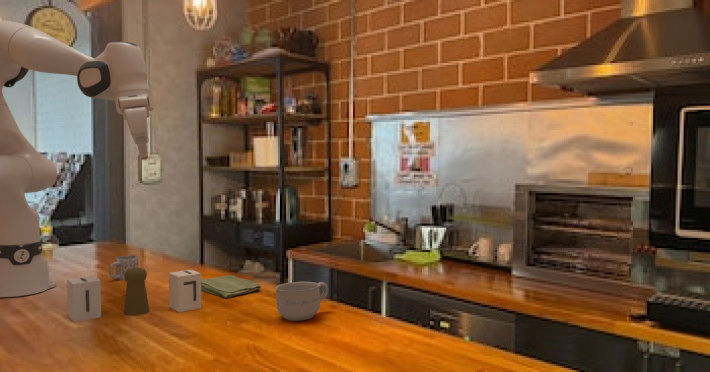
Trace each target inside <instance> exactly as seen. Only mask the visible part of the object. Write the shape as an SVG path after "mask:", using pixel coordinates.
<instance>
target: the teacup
mask: <svg viewBox="0 0 710 372" xmlns="http://www.w3.org/2000/svg"><path fill="white" fill-rule="evenodd" d="M321 287H322V289H323V290H322V293H320V292H321V291H320V288H321ZM274 289H275V296H276V297H275V298H276V309H277V312H278V313H279V315H281V316H282V317H283V318H284V319H285V320H287V321H293V322H298V321H305V320H310V319H311V318H313V317H314V316H315V315H316V314H317V313H318V312H319V310H320V307H321V303H322V301H323V300H324V299H325V298H326V297H327V295H328V293H329V286H328V285H327V283H326V282H323V281H320V282H313V281H293V282H285V283H280V284H279V285H277V286H275V288H274Z"/></svg>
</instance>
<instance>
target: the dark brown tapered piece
mask: <svg viewBox="0 0 710 372" xmlns="http://www.w3.org/2000/svg"><path fill="white" fill-rule="evenodd" d="M147 276H148V272H147V270H146V269H145V268H143V267H138V268H131V269H128V270H126V272H125V275H124V278H125V280H124V281H125V282H126V289H125V297H124V306H123V315H125V314H126V315H125V316H141V315H145V314H148V313H149V312H150V306H149V300H148V293H147V287H146V286H147V285H146V279H147ZM147 312H148V313H147ZM140 314H141V315H140Z"/></svg>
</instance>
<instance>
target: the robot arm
mask: <svg viewBox="0 0 710 372" xmlns="http://www.w3.org/2000/svg"><path fill="white" fill-rule="evenodd" d="M29 70H30V71H32V72H33V71H34V72H39V73H45V74H55V75H57V74H58V75H67V76H75V77H76V82H77V86H78V89H79V90H80V92H81V93H82V94H83V95H84V96H86V97H88V98H92V99H96V100H97V99H99V100H107V101H114V102H115V109H116V113H117V114H119V115H122V117H123V120H125V121H126V123H127V126H128V129H129V132H130V135H131V137H132V139H133V143H134V144H135V145H136V146H137V150H138V155H139V157H140V160H141V161H147V160H148V159H149V156H148V148H147V144H149V142H150V141H149V133H148V132H149V131H148V118H150V117H151V114H150V112H152V111H154V103H153V97H152V91H151V88H150V87H149V84H148V70H147V65H146V60H145V57H144V54H143V51H142V49H141V48H140V46H139V45H138V44H136V43H133V42H131V41H130V42H129V41H123V40H121V41H120V40H119V41H117V40H115V41H111V42H109V43H107V45H106V46H105V49H104V51H102V52H101V53H100V54H99V55H97V56H96V57H93V56H90V55H88V54H85V53H83V52H82V51H79V50H77V49H75V48H74V47H72V46H70V45H68V44H66V43H64V42H62V41H61V40H59V39H57V38H55V37H54V36H51V35H49V34H48V33H46V32H44V31H42V30H40V29H38V28H35V27H33V26H31V25H28V24H25V23H21V22H17V21H13V20H5V19H4V20H0V298H14V297H22V296H29V295H34V294H39V293H42V292H45V291H47V290H49V289H52V288H56V287H57V282H55V281H51V279H50V277H51V275H50V265H49V260H48V259H47V258H46V257H44V255H43V254H42V253H43V244H42V243H43V242H42V240H41V231H40V228H41V227H40V224H41V223H40V215H39V213H38V212H37V211H36V210H35V209H33V208H31V206H30V205H29V203H28V201H27V198H26V194H29V193H31V194H32V193H39V192H41V191H45V190H47V189H50V188H51V187H52V186H53V185H55V183H56V182H57V178H58V170H57V167H56V165H55V163H54V162H53V161H52V160H51V159H49V158H47V157H46V156H44V155H43V154H41V153H40V152H39V151H38V150H37V149H36V148H35V147H34V145H32V144H31V143H30V142H29V140H28V139H27V138H26V137H25V135H24V134H23V132H22V131H21V129H20V128H19V126H18V124H17V122H16V120H15V117H14V116H13V113H12V112H11V110H10V107H9V105H8V102H7V101H6V99H5V97H4V94H3V88H4V87H6V88H12V87H14V86H15V84H16V83H17V82H19V81H21V80H22V79H24V78H25V77H26V75H27V74H28V72H29Z"/></svg>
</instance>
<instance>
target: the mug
mask: <svg viewBox="0 0 710 372" xmlns="http://www.w3.org/2000/svg"><path fill="white" fill-rule="evenodd" d="M114 267H115V274H114ZM131 268H139V255H132V254H131V255H130V254H129V255H121V256H117V257H115V261H114V262H112V263H111V264H110V265H109V267H108V272H109V273H108V274H109V277H110V279H112V280H113V279H115V280H118V281H126V280H125V278H124V275H125V272H126V270H128V269H131Z"/></svg>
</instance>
